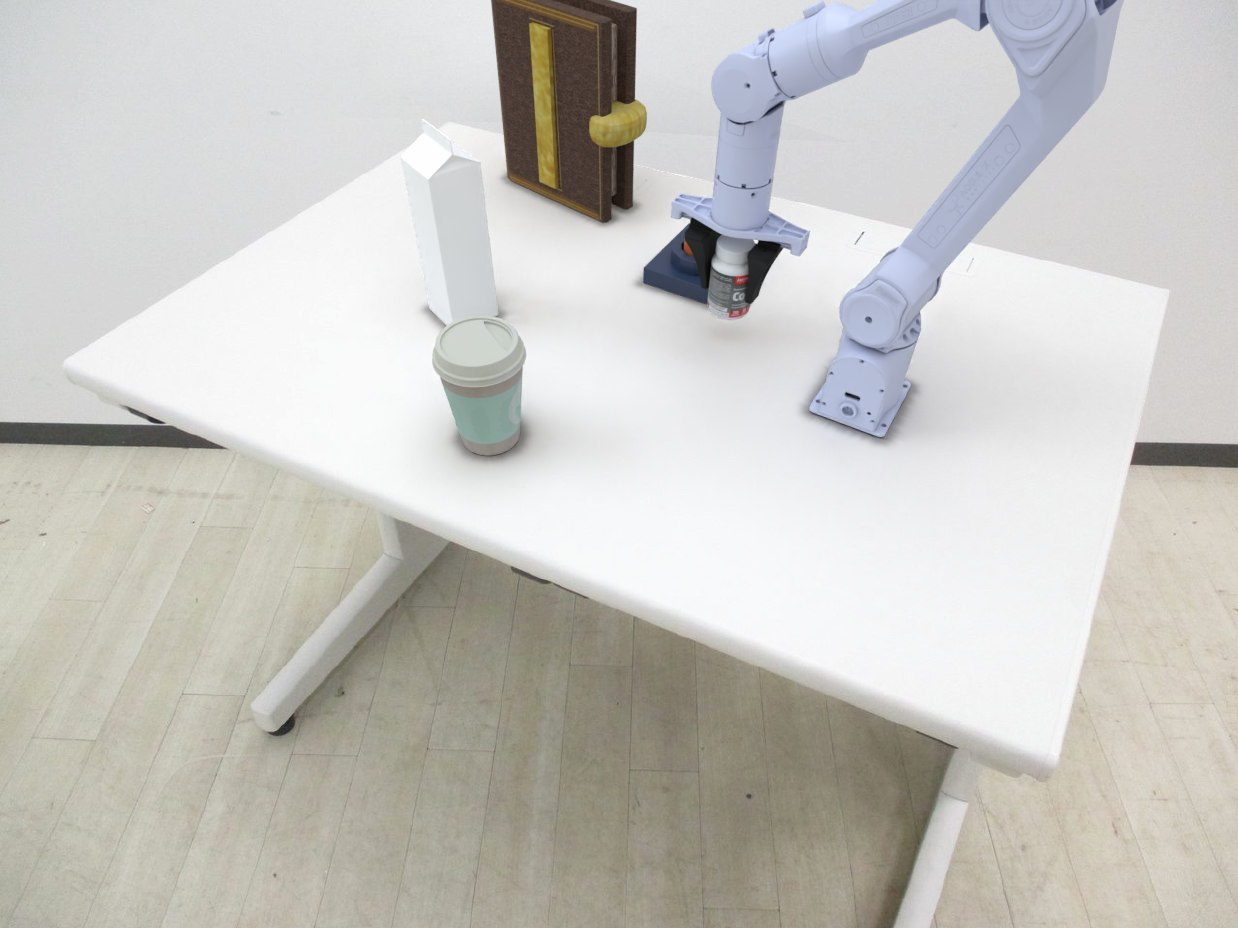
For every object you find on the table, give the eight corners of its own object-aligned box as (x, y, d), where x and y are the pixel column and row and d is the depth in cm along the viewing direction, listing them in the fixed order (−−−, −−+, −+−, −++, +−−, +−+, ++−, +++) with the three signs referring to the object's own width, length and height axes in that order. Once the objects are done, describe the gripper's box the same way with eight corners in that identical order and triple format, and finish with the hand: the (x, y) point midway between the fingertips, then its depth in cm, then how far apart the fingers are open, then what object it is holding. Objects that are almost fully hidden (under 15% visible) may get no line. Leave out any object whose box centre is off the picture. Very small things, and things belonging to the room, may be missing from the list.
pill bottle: (734, 327, 92) (743, 260, 86) (698, 311, 94) (704, 244, 88) (757, 306, 94) (767, 240, 88) (721, 291, 96) (728, 225, 90)
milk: (454, 334, 96) (421, 149, 80) (428, 309, 99) (392, 126, 83) (500, 315, 99) (477, 131, 83) (473, 290, 102) (447, 109, 86)
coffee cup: (529, 466, 82) (519, 371, 73) (441, 465, 82) (420, 369, 73) (537, 407, 88) (528, 312, 79) (455, 405, 88) (437, 310, 79)
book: (496, 180, 121) (476, -12, 103) (538, 158, 125) (526, -29, 107) (614, 234, 111) (615, 32, 93) (654, 208, 115) (663, 11, 97)
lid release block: (716, 308, 100) (719, 279, 97) (642, 283, 103) (643, 254, 100) (758, 259, 107) (762, 231, 104) (687, 237, 110) (690, 210, 108)
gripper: (829, 176, 82) (806, 293, 92) (696, 140, 87) (687, 255, 97) (802, 208, 78) (780, 327, 88) (663, 169, 83) (658, 285, 93)
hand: (730, 291), depth 92 cm, fingers closed on pill bottle, 5 cm apart
